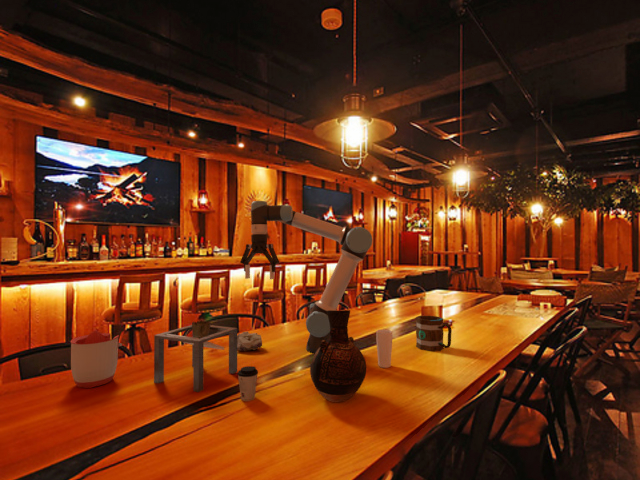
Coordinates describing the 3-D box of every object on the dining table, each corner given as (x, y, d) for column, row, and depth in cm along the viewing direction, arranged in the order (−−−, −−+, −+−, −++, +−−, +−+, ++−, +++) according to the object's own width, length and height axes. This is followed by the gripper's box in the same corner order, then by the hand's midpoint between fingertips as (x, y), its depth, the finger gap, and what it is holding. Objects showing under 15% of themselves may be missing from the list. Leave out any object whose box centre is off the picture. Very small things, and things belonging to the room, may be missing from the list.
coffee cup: (240, 404, 114) (240, 373, 114) (235, 396, 120) (235, 367, 120) (260, 400, 117) (260, 370, 117) (254, 392, 123) (254, 364, 123)
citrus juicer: (131, 378, 137) (131, 327, 138) (83, 394, 122) (83, 337, 123) (109, 371, 145) (109, 323, 146) (61, 385, 130) (62, 331, 131)
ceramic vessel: (333, 416, 105) (333, 317, 106) (298, 398, 119) (298, 309, 119) (378, 396, 119) (377, 309, 120) (342, 382, 132) (341, 303, 133)
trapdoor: (196, 341, 127) (197, 337, 128) (164, 336, 134) (165, 333, 134) (223, 349, 141) (224, 346, 141) (193, 345, 147) (194, 342, 148)
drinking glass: (394, 364, 152) (393, 330, 152) (390, 369, 145) (390, 333, 146) (378, 362, 154) (378, 328, 155) (374, 367, 148) (374, 332, 149)
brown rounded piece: (213, 340, 146) (214, 320, 147) (202, 343, 139) (203, 323, 140) (198, 339, 149) (199, 320, 149) (187, 342, 142) (188, 322, 142)
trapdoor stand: (237, 371, 144) (237, 328, 144) (198, 392, 124) (198, 341, 124) (196, 364, 153) (196, 323, 153) (154, 382, 133) (154, 335, 133)
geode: (248, 365, 167) (268, 351, 180) (251, 349, 165) (271, 336, 177) (224, 348, 175) (245, 336, 188) (226, 332, 172) (247, 321, 185)
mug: (410, 346, 180) (410, 317, 180) (428, 342, 187) (428, 314, 187) (441, 356, 163) (441, 324, 163) (460, 351, 170) (459, 321, 170)
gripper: (232, 234, 166) (233, 278, 166) (278, 232, 157) (278, 280, 156) (242, 234, 173) (242, 277, 173) (286, 233, 163) (286, 278, 163)
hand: (259, 278), depth 164 cm, fingers open, 13 cm apart
